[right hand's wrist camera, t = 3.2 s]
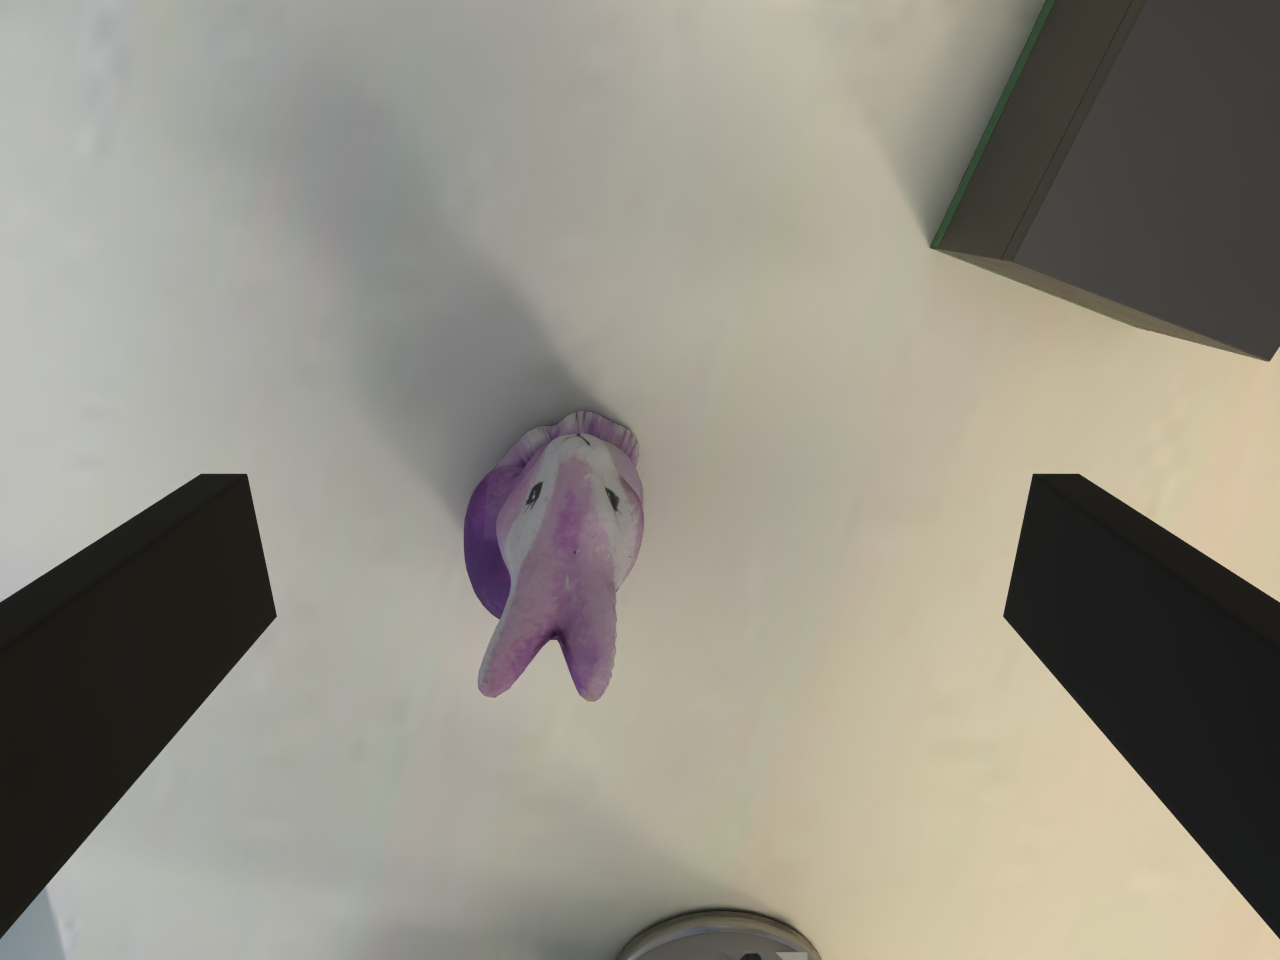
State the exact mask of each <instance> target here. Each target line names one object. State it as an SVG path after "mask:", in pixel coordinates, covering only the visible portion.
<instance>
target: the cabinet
mask: <svg viewBox="0 0 1280 960" xmlns="http://www.w3.org/2000/svg"><path fill="white" fill-rule="evenodd" d="M930 248H932V249H934V250H937V251H939V252H942V253H945V254H947V255H950V256H952V257H955V258H958V259H960V260H963V261H965V262H968V263H970V264H973V265H976V266H978V267H981V268H983V269H986V270H989V271H991V272H994V273H996V274H999V275H1002V276H1004V277H1007V278H1009V279H1012V280H1015V281H1017V282H1020V283H1022V284H1025V285H1028V286H1030V287H1033V288H1035V289H1038V290H1041V291H1043V292H1046V293H1048V294H1051V295H1053V296H1056V297H1059V298H1061V299H1064V300H1066V301H1069V302H1072V303H1074V304H1077V305H1079V306H1082V307H1085V308H1087V309H1090V310H1092V311H1095V312H1098V313H1100V314H1103V315H1105V316H1108V317H1111V318H1113V319H1116V320H1118V321H1121V322H1124V323H1126V324H1129V325H1131V326H1134V327H1136V328H1140V329H1144V330H1148V331H1153V332H1157V333H1161V334H1164V335H1168V336H1172V337H1176V338H1180V339H1184V340H1187V341H1191V342H1195V343H1199V344H1203V345H1207V346H1210V347H1214V348H1218V349H1222V350H1226V351H1229V352H1233V353H1237V354H1241V355H1245V356H1249V357H1252V358H1256V359H1260V360H1264V361H1267V362H1269V361H1270V360H1271V359H1272V357H1273V356H1274V354H1275V353H1276V351H1277V350H1278V348H1279V347H1280V0H1046V3H1045V5H1044V7H1043V9H1042V11H1041V13H1040V15H1039V17H1038V20H1037V22H1036V24H1035V26H1034V28H1033V30H1032V32H1031V34H1030V37H1029V39H1028V41H1027V43H1026V45H1025V47H1024V49H1023V51H1022V54H1021V56H1020V58H1019V60H1018V62H1017V64H1016V66H1015V68H1014V71H1013V73H1012V75H1011V77H1010V79H1009V81H1008V83H1007V86H1006V88H1005V90H1004V92H1003V94H1002V96H1001V98H1000V100H999V103H998V105H997V107H996V109H995V111H994V113H993V115H992V117H991V120H990V122H989V124H988V126H987V128H986V130H985V132H984V134H983V137H982V139H981V141H980V143H979V145H978V147H977V149H976V151H975V154H974V156H973V158H972V160H971V162H970V164H969V166H968V168H967V171H966V173H965V175H964V177H963V179H962V181H961V183H960V186H959V188H958V190H957V192H956V194H955V196H954V198H953V200H952V203H951V205H950V207H949V209H948V211H947V213H946V215H945V217H944V220H943V222H942V224H941V226H940V228H939V230H938V232H937V234H936V237H935V239H934V241H933V243H932V245H931V247H930Z"/></svg>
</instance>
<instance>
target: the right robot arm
mask: <svg viewBox="0 0 1280 960" xmlns="http://www.w3.org/2000/svg"><path fill="white" fill-rule="evenodd" d="M276 617H277V615H276V610H275V605H274V601H273V596H272V591H271V586H270V581H269V577H268V572H267V567H266V562H265V558H264V553H263V548H262V543H261V538H260V534H259V529H258V524H257V519H256V515H255V510H254V505H253V500H252V495H251V491H250V486H249V481H248V476H247V474H200V475H199V476H197V477H195V478H194V479H192V480H191V481H189V482H188V483H186V484H185V485H183V486H181V487H180V488H178V489H177V490H175V491H174V492H172V493H171V494H169V495H167V496H166V497H164V498H163V499H161V500H160V501H158V502H156V503H155V504H153V505H152V506H150V507H149V508H147V509H146V510H144V511H142V512H141V513H139V514H138V515H136V516H135V517H133V518H131V519H130V520H128V521H127V522H125V523H124V524H122V525H121V526H119V527H117V528H116V529H114V530H113V531H111V532H110V533H108V534H106V535H105V536H103V537H102V538H100V539H99V540H97V541H96V542H94V543H92V544H91V545H89V546H88V547H86V548H85V549H83V550H82V551H80V552H78V553H77V554H75V555H74V556H72V557H71V558H69V559H67V560H66V561H64V562H63V563H61V564H60V565H58V566H57V567H55V568H53V569H52V570H50V571H49V572H47V573H46V574H44V575H42V576H41V577H39V578H38V579H36V580H35V581H33V582H32V583H30V584H28V585H27V586H25V587H24V588H22V589H21V590H19V591H17V592H16V593H14V594H13V595H11V596H10V597H8V598H7V599H5V600H3V601H2V602H0V939H1V937H2V936H3V935H4V934H5V933H6V932H7V931H8V929H9V928H10V927H11V926H12V925H13V924H14V922H15V921H16V920H17V919H18V918H19V916H20V915H21V914H22V913H23V912H24V911H25V910H26V908H27V907H28V906H29V905H30V904H31V902H32V901H33V900H34V899H35V898H36V897H37V896H38V894H39V893H40V892H41V891H42V890H43V889H44V887H45V886H46V885H47V884H48V883H49V882H50V880H51V879H52V878H53V877H54V876H55V875H56V873H57V872H58V871H59V870H60V869H61V868H62V866H63V865H64V864H65V863H66V862H67V861H68V859H69V858H70V857H71V856H72V855H73V854H74V852H75V851H76V850H77V849H78V848H79V847H80V845H81V844H82V843H83V842H84V841H85V840H86V838H87V837H88V836H89V835H90V834H91V833H92V831H93V830H94V829H95V828H96V827H97V826H98V824H99V823H100V822H101V821H102V820H103V819H104V817H105V816H106V815H107V814H108V813H109V812H110V810H111V809H112V808H113V807H114V806H115V805H116V803H117V802H118V801H119V800H120V799H121V798H122V796H123V795H124V794H125V793H126V792H127V791H128V789H129V788H130V787H131V786H132V785H133V784H134V782H135V781H136V780H137V779H138V778H139V777H140V775H141V774H142V773H143V772H144V771H145V770H146V768H147V767H148V766H149V765H150V764H151V763H152V761H153V760H154V759H155V758H156V757H157V756H158V754H159V753H160V752H161V751H162V750H163V749H164V747H165V746H166V745H167V744H168V743H169V742H170V740H171V739H172V738H173V737H174V736H175V735H176V733H177V732H178V731H179V730H180V729H181V728H182V726H183V725H184V724H185V723H186V722H187V721H188V719H189V718H190V717H191V716H192V715H193V714H194V712H195V711H196V710H197V709H198V708H199V707H200V705H201V704H202V703H203V702H204V701H205V700H206V698H207V697H208V696H209V695H210V694H211V693H212V691H213V690H214V689H215V688H216V687H217V686H218V684H219V683H220V682H221V681H222V680H223V679H224V677H225V676H226V675H227V674H228V673H229V672H230V670H231V669H232V668H233V667H234V666H235V665H236V663H237V662H238V661H239V660H240V659H241V658H242V656H243V655H244V654H245V653H246V652H247V651H248V649H249V648H250V647H251V646H252V645H253V644H254V642H255V641H256V640H257V639H258V638H259V637H260V635H261V634H262V633H263V632H264V631H265V630H266V628H267V627H268V626H269V625H270V624H271V623H272V621H273V620H274V619H275V618H276ZM1003 617H1004V618H1005V619H1006V620H1007V621H1008V623H1009V624H1010V625H1011V626H1012V627H1013V628H1014V630H1015V631H1016V632H1017V633H1018V634H1019V635H1020V637H1021V638H1022V639H1023V640H1024V641H1025V642H1026V644H1027V645H1028V646H1029V647H1030V648H1031V649H1032V651H1033V652H1034V653H1035V654H1036V655H1037V656H1038V658H1039V659H1040V660H1041V661H1042V662H1043V663H1044V665H1045V666H1046V667H1047V668H1048V669H1049V670H1050V672H1051V673H1052V674H1053V675H1054V676H1055V677H1056V679H1057V680H1058V681H1059V682H1060V683H1061V684H1062V686H1063V687H1064V688H1065V689H1066V690H1067V691H1068V693H1069V694H1070V695H1071V696H1072V697H1073V698H1074V700H1075V701H1076V702H1077V703H1078V704H1079V705H1080V707H1081V708H1082V709H1083V710H1084V711H1085V712H1086V714H1087V715H1088V716H1089V717H1090V718H1091V719H1092V721H1093V722H1094V723H1095V724H1096V725H1097V726H1098V728H1099V729H1100V730H1101V731H1102V732H1103V733H1104V735H1105V736H1106V737H1107V738H1108V739H1109V740H1110V742H1111V743H1112V744H1113V745H1114V746H1115V747H1116V749H1117V750H1118V751H1119V752H1120V753H1121V754H1122V756H1123V757H1124V758H1125V759H1126V760H1127V761H1128V763H1129V764H1130V765H1131V766H1132V767H1133V768H1134V770H1135V771H1136V772H1137V773H1138V774H1139V775H1140V777H1141V778H1142V779H1143V780H1144V781H1145V782H1146V784H1147V785H1148V786H1149V787H1150V788H1151V789H1152V791H1153V792H1154V793H1155V794H1156V795H1157V796H1158V798H1159V799H1160V800H1161V801H1162V802H1163V803H1164V805H1165V806H1166V807H1167V808H1168V809H1169V810H1170V812H1171V813H1172V814H1173V815H1174V816H1175V817H1176V819H1177V820H1178V821H1179V822H1180V823H1181V824H1182V826H1183V827H1184V828H1185V829H1186V830H1187V831H1188V833H1189V834H1190V835H1191V836H1192V837H1193V838H1194V840H1195V841H1196V842H1197V843H1198V844H1199V845H1200V847H1201V848H1202V849H1203V850H1204V851H1205V852H1206V854H1207V855H1208V856H1209V857H1210V858H1211V859H1212V861H1213V862H1214V863H1215V864H1216V865H1217V866H1218V868H1219V869H1220V870H1221V871H1222V872H1223V873H1224V875H1225V876H1226V877H1227V878H1228V879H1229V880H1230V882H1231V883H1232V884H1233V885H1234V886H1235V887H1236V889H1237V890H1238V891H1239V892H1240V893H1241V894H1242V896H1243V897H1244V898H1245V899H1246V900H1247V901H1248V903H1249V904H1250V905H1251V906H1252V907H1253V908H1254V910H1255V911H1256V912H1257V913H1258V914H1259V915H1260V917H1261V918H1262V919H1263V920H1264V921H1265V922H1266V924H1267V925H1268V926H1269V927H1270V928H1271V929H1272V931H1273V932H1274V933H1275V934H1276V935H1277V936H1278V938H1279V939H1280V602H1278V601H1277V600H1275V599H1273V598H1272V597H1270V596H1269V595H1267V594H1266V593H1264V592H1263V591H1261V590H1259V589H1258V588H1256V587H1255V586H1253V585H1252V584H1250V583H1248V582H1247V581H1245V580H1244V579H1242V578H1241V577H1239V576H1238V575H1236V574H1234V573H1233V572H1231V571H1230V570H1228V569H1227V568H1225V567H1223V566H1222V565H1220V564H1219V563H1217V562H1216V561H1214V560H1213V559H1211V558H1209V557H1208V556H1206V555H1205V554H1203V553H1202V552H1200V551H1198V550H1197V549H1195V548H1194V547H1192V546H1191V545H1189V544H1188V543H1186V542H1184V541H1183V540H1181V539H1180V538H1178V537H1177V536H1175V535H1174V534H1172V533H1170V532H1169V531H1167V530H1166V529H1164V528H1163V527H1161V526H1159V525H1158V524H1156V523H1155V522H1153V521H1152V520H1150V519H1149V518H1147V517H1145V516H1144V515H1142V514H1141V513H1139V512H1138V511H1136V510H1134V509H1133V508H1131V507H1130V506H1128V505H1127V504H1125V503H1124V502H1122V501H1120V500H1119V499H1117V498H1116V497H1114V496H1113V495H1111V494H1109V493H1108V492H1106V491H1105V490H1103V489H1102V488H1100V487H1099V486H1097V485H1095V484H1094V483H1092V482H1091V481H1089V480H1088V479H1086V478H1085V477H1083V476H1081V475H1080V474H1033V476H1032V481H1031V486H1030V491H1029V495H1028V500H1027V505H1026V510H1025V515H1024V519H1023V524H1022V529H1021V534H1020V538H1019V543H1018V548H1017V553H1016V558H1015V562H1014V567H1013V572H1012V577H1011V581H1010V586H1009V591H1008V596H1007V601H1006V605H1005V610H1004V615H1003ZM616 960H821V958H820V956H819V955H818V953H817V951H816V950H815V949H814V948H813V946H812V945H811V944H810V943H809V942H808V941H807V940H806V939H805V938H804V937H802V936H801V935H800V934H798V933H797V932H795V931H794V930H792V929H791V928H789V927H787V926H785V925H783V924H781V923H779V922H776V921H774V920H771V919H768V918H765V917H762V916H758V915H753V914H748V913H742V912H731V911H711V912H701V913H694V914H689V915H684V916H680V917H677V918H673V919H670V920H668V921H665V922H662V923H660V924H658V925H656V926H654V927H652V928H650V929H648V930H647V931H645V932H643V933H642V934H640V935H639V936H637V937H636V938H635V939H634V940H632V941H631V942H630V943H629V944H628V945H627V946H626V947H625V948H624V949H623V950H622V951H621V953H620V954H619V955H618V957H617V958H616Z"/></svg>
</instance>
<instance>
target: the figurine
mask: <svg viewBox="0 0 1280 960" xmlns="http://www.w3.org/2000/svg"><path fill="white" fill-rule="evenodd" d="M638 456H639V448H638V443H637V439H636V437H635V435H634V434H632V433H631V432H630V430H628V429H627V428H625V427H622V426H621V425H617V424H616V423H612V421H611V420H607V418H603V417H602V416H600V415H598V414H597V413H592V412H589V411H587V412H585V411H577V412H574V413H571V414H569V415H568V416H566V417H565V418H564V419H563V420H561V421H560V422H559V423H558V424H556V425H554V426H539V427H536V428H534V429H532V430H529V431H527V432H526V433H525V434H524V435H523V436H522V437H521V438H520V439H519V440H518V441H517V442H516V443H515V444H514V445H513V446H512V447H511V449H510V450H509V451H508V452H507V454H506V455H505V456H504V457H503V458H502V459H501V460H500V462H499V463H498V464H497V466H496V467H495V468H494V469H493V471H491V472H490V473H488V474H487V475H486V476H485V477H484V479H483V480H482V481H481V482H480V483H479V484H478V485H477V487H476V489H475V490H474V492H473V494H472V497H471V499H470V501H469V504H468V508H467V512H466V517H465V523H464V554H465V563H466V569H467V572H468V575H469V578H470V581H471V584H472V587H473V589H474V592H475V594H476V596H477V597H478V599H479V600H480V601H481V603H482V604H483V606H484V607H485V608H486V609H487V610H488V611H489V612H490V613H491V614H492V615H494V616H495V617H497V618H498V619H500V621H499V623H498V625H497V626H496V629H495V631H494V633H493V636H492V638H491V640H490V643H489V645H488V648H487V650H486V653H485V655H484V658H483V661H482V664H481V667H480V670H479V677H478V689H479V690H480V691H481V693H482V694H483V695H484V696H487V697H494V698H495V697H496V696H498V695H500V694H501V693H503V692H505V691H506V690H508V689H509V688H510V687H511V686H512V685H513V683H514V682H515V681H516V680H517V678H518V677H519V676H520V675H521V674H522V673H523V671H524V670H525V668H526V667H527V666H528V664H529V663H530V662H531V661H532V659H533V658H534V657H535V655H536V654H537V653H538V652H539V650H540V649H541V648H542V647H543V646H544V645H545V644H546V643H547V642H548V641H549V640H558V642H559V644H560V646H561V649H562V652H563V654H564V657H565V660H566V663H567V666H568V669H569V671H570V674H571V676H572V679H573V681H574V684H575V686H576V689H577V691H578V693H579V695H580V696H582V697H583V698H584V699H586V700H587V701H593V702H594V701H596V700H598V699H599V698H600V697H601V696H602V695H603V693H604V692H605V690H606V688H607V686H608V685H609V684H608V683H609V681H610V678H611V677H612V672H611V671H612V669H613V667H614V657H615V653H616V647H615V641H616V637H617V634H616V620H617V616H616V610H615V605H616V592H617V590H618V589H619V587H620V586H621V584H622V583H623V582H624V580H625V579H626V577H627V576H628V574H629V573H630V571H631V569H632V568H633V566H634V563H635V561H636V559H637V555H638V552H639V549H640V545H641V541H642V536H643V527H644V514H643V509H642V505H643V491H642V484H641V481H640V479H639V476H638V473H637V471H636V469H635V467H636V465H637V459H638Z"/></svg>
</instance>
